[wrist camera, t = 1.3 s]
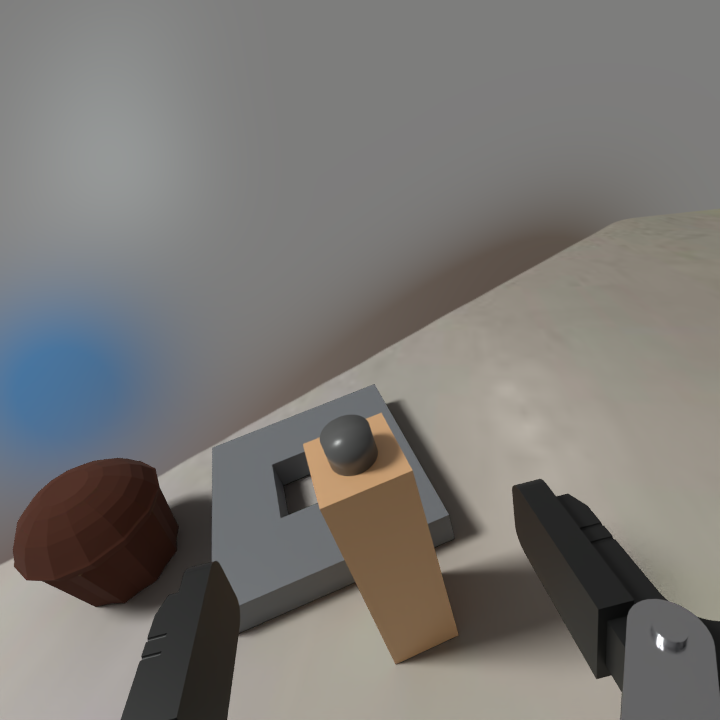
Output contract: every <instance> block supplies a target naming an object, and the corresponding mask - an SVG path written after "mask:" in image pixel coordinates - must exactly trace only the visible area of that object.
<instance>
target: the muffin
mask: <svg viewBox="0 0 720 720" xmlns="http://www.w3.org/2000/svg"><path fill="white" fill-rule="evenodd" d="M178 527H179V526H178V524H177V522H176V520H175V518H174V516H173V514H172V512H171V510H170V508H169V506H168V504H167V502H166V500H165V497H164V495H163V493H162V491H161V489H160V487H159V483H158V478H157V474H156V469H155V468H153V467H151V466H149V465H147V464H145V463H143V462H141V461H135V460H130V459H123V458H114V459H104V460H97V461H92V462H89V463H86V464H83V465H81V466H78V467H76V468H73V469H70V470H68V471H66V472H65V473H63V474H61V475H60V476H58V477H56V478H55V479H53V480H52V481H50V482H49V483H48V484H47V485H46V486H45V487H44V488H43V489H41V490H40V491H39V492H38V493H37V494H36V496H35V497H34V498H33V499H32V501H31V502H30V504H29V505H28V507H27V508H26V510H25V511H24V512H23V514H22V515H21V517H20V519H19V520H18V522H17V528H16V534H15V540H14V546H13V554H14V567H15V568H16V569H17V570H18V571H19V573H20V574H21V575H22V576H23V577H24V578H25V579H26V580H32V581H43V582H45V583H47V584H49V585H51V586H54V587H56V588H58V589H60V590H62V591H64V592H66V593H68V594H70V595H72V596H74V597H76V598H78V599H80V600H83V601H85V602H87V603H89V604H91V605H93V606H95V607H98V606H102V605H106V604H111V603H126V602H127V601H128V600H130V599H131V598H132V597H133V596H135V595H136V594H137V593H138V592H140V591H141V590H143V589H144V588H146V587H148V586H149V585H151V584H152V583H154V582H156V581H157V580H158V578H159V576H160V575H161V573H162V571H163V569H164V568H165V566H166V565H167V563H168V562H169V561H170V559H171V558H172V557H173V555H174V554H175V553H176V551H177V542H176V538H177V533H178Z"/></svg>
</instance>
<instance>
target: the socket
mask: <svg viewBox="0 0 720 720" xmlns="http://www.w3.org/2000/svg"><path fill="white" fill-rule="evenodd" d="M379 413H382V415H383V416H384V418H385V420H386V422H387V424H388V426H389V428H390V429H391V431H392V433H393V435H394V437H395V439H396V440H397V442H398V444H399V446H400V448H401V450H402V452H403V453H404V455H405V457H406V459H407V461H408V463H409V465H410V466H411V468H412V470H413V473H414V477H415V481H416V484H417V488H418V491H419V495H420V498H421V502H422V506H423V509H424V513H425V516H426V520H427V523H428V527H429V531H430V534H431V538H432V541H433V545H434V547H436V546H439V545H441V544H443V543H445V542H448V541H450V540H452V539H454V534H453V530H452V525H451V521H450V517H449V514H448V512H447V510H446V509H445V507H444V505H443V503H442V502H441V500H440V498H439V496H438V495H437V493H436V491H435V489H434V488H433V486H432V484H431V482H430V481H429V479H428V477H427V475H426V474H425V472H424V470H423V468H422V467H421V465H420V463H419V461H418V460H417V458H416V456H415V454H414V453H413V451H412V449H411V447H410V446H409V444H408V442H407V440H406V439H405V437H404V435H403V433H402V431H401V430H400V428H399V426H398V424H397V423H396V421H395V419H394V417H393V416H392V414H391V412H390V410H389V409H388V407H387V405H386V403H385V402H384V400H383V398H382V396H381V395H380V393H379V391H378V389H377V388H376V386H375V384H373V385H371V386H368V387H366V388H363V389H361V390H358V391H356V392H353V393H351V394H348V395H345V396H343V397H340V398H338V399H335V400H333V401H330V402H328V403H325V404H323V405H320V406H317V407H315V408H312V409H310V410H307V411H305V412H302V413H300V414H297V415H295V416H292V417H289V418H287V419H284V420H282V421H279V422H277V423H274V424H272V425H269V426H267V427H264V428H261V429H259V430H256V431H254V432H251V433H249V434H246V435H244V436H241V437H239V438H236V439H233V440H231V441H228V442H226V443H223V444H221V445H218V446H216V447H213V448H212V562H213V561H218V562H219V563H220V565H221V567H222V569H223V571H224V573H225V575H226V577H227V579H228V581H229V582H230V584H231V586H232V588H233V590H234V592H235V594H236V596H237V599H238V602H239V607H240V628H239V633H240V632H243V631H245V630H247V629H249V628H252V627H254V626H256V625H259V624H261V623H263V622H265V621H268V620H270V619H272V618H274V617H277V616H279V615H281V614H284V613H286V612H288V611H290V610H293V609H295V608H297V607H300V606H302V605H304V604H306V603H309V602H311V601H313V600H315V599H318V598H320V597H322V596H325V595H327V594H329V593H331V592H334V591H336V590H338V589H341V588H343V587H345V586H347V585H350V584H352V583H354V582H355V580H354V578H353V576H352V574H351V572H350V570H349V568H348V566H347V564H346V562H345V560H344V558H343V556H342V554H341V552H340V550H339V548H338V546H337V544H336V542H335V539H334V537H333V535H332V533H331V531H330V529H329V527H328V525H327V523H326V521H325V519H324V517H323V515H322V513H321V511H320V509H319V505H318V503H316V504H314V505H312V506H309V507H307V508H304V509H302V510H300V511H297V512H295V513H292V514H290V515H288V509H287V504H286V498H285V493H284V487H283V485H285V484H288V483H290V482H293V481H295V480H297V479H300V478H302V477H305V476H307V475H310V470H309V466H308V462H307V458H306V455H305V451H304V447H303V444H304V443H307V442H309V441H312V440H314V439H317V438H319V437H320V434H321V432H322V430H323V428H324V427H325V426H326V425H327V424H328V423H329V422H331V421H332V420H334V419H336V418H338V417H340V416H344V415H359V416H362V417H364V418H365V419H367V418H369V417H372V416H374V415H377V414H379Z"/></svg>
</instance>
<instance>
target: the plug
mask: <svg viewBox="0 0 720 720" xmlns="http://www.w3.org/2000/svg"><path fill="white" fill-rule="evenodd" d="M303 447H304V451H305V455H306V458H307V462H308V466H309V470H310V474H311V478H312V482H313V485H314V489H315V493H316V497H317V501H318V505H319V509H320V511H321V513H322V515H323V517H324V519H325V521H326V523H327V525H328V527H329V529H330V531H331V533H332V535H333V537H334V539H335V542H336V544H337V546H338V548H339V550H340V552H341V554H342V556H343V558H344V560H345V562H346V564H347V566H348V568H349V570H350V572H351V574H352V576H353V578H354V580H355V582H356V584H357V586H358V589H359V591H360V593H361V595H362V597H363V599H364V601H365V603H366V605H367V607H368V609H369V611H370V613H371V615H372V617H373V619H374V621H375V623H376V625H377V627H378V629H379V631H380V633H381V635H382V638H383V640H384V642H385V644H386V646H387V648H388V650H389V652H390V654H391V656H392V658H393V660H394V662H395V664H398V663H400V662H402V661H404V660H406V659H408V658H411V657H413V656H415V655H417V654H419V653H421V652H424V651H426V650H428V649H430V648H432V647H434V646H437V645H439V644H441V643H443V642H445V641H447V640H449V639H452V638H454V637H456V636H458V635H459V634H458V631H457V627H456V624H455V620H454V617H453V613H452V609H451V606H450V602H449V599H448V595H447V591H446V588H445V584H444V581H443V577H442V574H441V570H440V566H439V563H438V559H437V556H436V552H435V549H434V545H433V541H432V538H431V534H430V531H429V527H428V523H427V520H426V516H425V513H424V509H423V506H422V502H421V498H420V495H419V491H418V488H417V484H416V481H415V477H414V473H413V470H412V468H411V466H410V465H409V463H408V461H407V459H406V457H405V455H404V453H403V452H402V450H401V448H400V446H399V444H398V442H397V440H396V439H395V437H394V435H393V433H392V431H391V429H390V428H389V426H388V424H387V422H386V420H385V418H384V416H383V415H382V413H379V414H377V415H374V416H372V417H369V418H367V419H365V418H364V417H362V416H359V415H344V416H340V417H338V418H336V419H334V420H332V421H331V422H329V423H328V424H327V425H326V426H325V427H324V428H323V430H322V432H321V434H320V437H319V438H317V439H314V440H312V441H309V442H307V443H304V444H303Z"/></svg>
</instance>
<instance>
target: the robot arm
mask: <svg viewBox="0 0 720 720" xmlns="http://www.w3.org/2000/svg"><path fill="white" fill-rule="evenodd" d="M512 494H513V505H514V517H515V527H516V532H517V536H518V539H519V541H520V544H521V546H522V548H523V550H524V552H525V554H526V556H527V558H528V559H529V561H530V563H531V565H532V566H533V568H534V570H535V572H536V573H537V575H538V577H539V579H540V580H541V582H542V584H543V586H544V587H545V589H546V591H547V593H548V595H549V596H550V598H551V600H552V602H553V603H554V605H555V607H556V609H557V610H558V612H559V614H560V616H561V617H562V619H563V621H564V623H565V624H566V626H567V628H568V630H569V631H570V633H571V635H572V637H573V639H574V640H575V642H576V644H577V646H578V647H579V649H580V651H581V653H582V654H583V656H584V658H585V660H586V661H587V663H588V665H589V667H590V668H591V670H592V672H593V674H594V675H595V677H596V679H599V678H602V677H606V676H610V675H612V677H613V678H614V680H615V682H616V683H617V685H618V687H619V688H620V690H621V692H622V698H621V715H620V720H720V621H711V620H706V619H702V618H699V617H697V616H695V615H694V614H693V613H691V612H690V611H688V610H687V609H685V608H684V607H682V606H680V605H677V604H675V603H672V602H669V601H668V600H667V599H665V598H664V597H663V596H662V595H661V594H660V593H659V592H658V590H657V589H656V588H655V587H654V586H653V584H652V583H651V582H650V581H649V579H648V578H647V577H646V576H645V575H644V573H643V572H642V571H641V570H640V569H639V567H638V566H637V565H636V564H635V563H634V561H633V560H632V559H631V558H630V557H629V555H628V554H627V553H626V552H625V551H624V549H623V548H622V547H621V546H620V545H619V543H618V542H617V541H616V540H614V539H613V537H612V535H611V534H610V532H609V531H608V530H607V529H606V528H605V526H602V524H601V522H600V520H599V519H598V518H597V517H596V516H595V514H594V513H593V512H592V511H591V510H590V508H589V507H588V506H587V505H585V504H584V503H582V502H581V501H579V500H577V499H576V498H574V497H573V496H571V495H569V494H565V495H561V496H557V497H556V496H555V495H554V493H553V492H552V491H551V489H550V488H549V487H548V485H547V484H546V483H545V482H544V481H543V480H542V479H538V480H534V481H530V482H526V483H522V484H518V485H514V486H513V487H512ZM239 628H240V607H239V602H238V599H237V596H236V594H235V592H234V590H233V588H232V586H231V584H230V582H229V581H228V579H227V577H226V575H225V573H224V571H223V569H222V567H221V565H220V563H219V562H218V561H213V562H209V563H205V564H202V565H198V566H194V567H190V568H187V569H186V571H185V573H184V575H183V579H182V582H181V586H180V589H179V592H178V593H175V594H171V595H168V597H167V598H166V600H165V601H164V603H163V604H162V606H161V607H160V609H159V610H158V612H157V613H156V615H155V616H154V620H153V623H152V626H151V629H150V632H149V635H148V642H146V644H145V647H144V650H143V653H142V656H141V657H142V661H140V662H139V665H138V668H137V672H136V675H135V678H134V681H133V684H132V687H131V690H130V693H129V696H128V699H127V702H126V705H125V708H124V711H123V714H122V717H121V720H227V716H228V708H229V701H230V694H231V686H232V679H233V672H234V664H235V657H236V650H237V642H238V635H239Z"/></svg>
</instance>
